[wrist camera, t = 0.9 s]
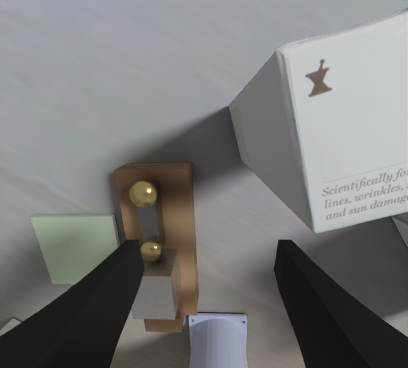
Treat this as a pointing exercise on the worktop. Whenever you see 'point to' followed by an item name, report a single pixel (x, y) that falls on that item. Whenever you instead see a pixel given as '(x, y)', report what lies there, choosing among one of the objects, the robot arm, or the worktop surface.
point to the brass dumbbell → (149, 217)
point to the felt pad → (74, 243)
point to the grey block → (159, 287)
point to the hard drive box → (402, 225)
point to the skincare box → (332, 124)
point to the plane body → (166, 227)
